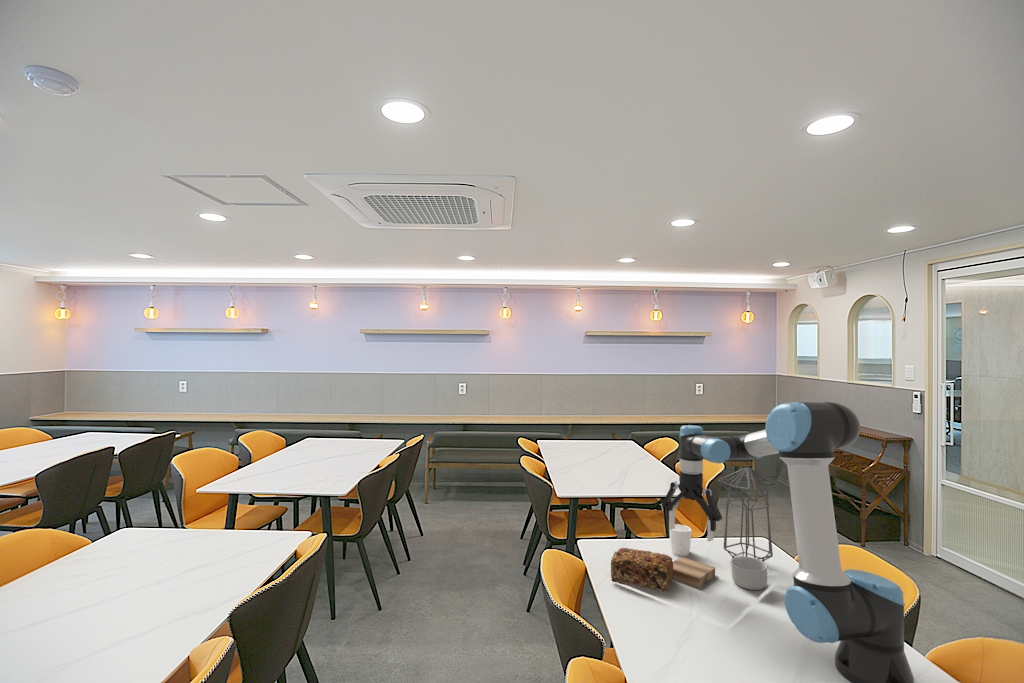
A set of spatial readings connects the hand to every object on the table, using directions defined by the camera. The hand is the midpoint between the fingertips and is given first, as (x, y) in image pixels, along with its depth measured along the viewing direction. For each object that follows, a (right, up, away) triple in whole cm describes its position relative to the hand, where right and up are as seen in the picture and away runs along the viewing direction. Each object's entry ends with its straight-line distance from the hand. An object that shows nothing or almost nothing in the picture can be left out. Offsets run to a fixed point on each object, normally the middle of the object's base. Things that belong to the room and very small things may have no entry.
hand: (690, 534), depth 166 cm
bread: (-17, -15, -3) cm, 23 cm away
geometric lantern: (+25, -16, +12) cm, 32 cm away
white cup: (+3, -16, +20) cm, 26 cm away
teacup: (+17, -15, -4) cm, 23 cm away
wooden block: (0, -14, 0) cm, 14 cm away
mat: (0, -15, 0) cm, 15 cm away
